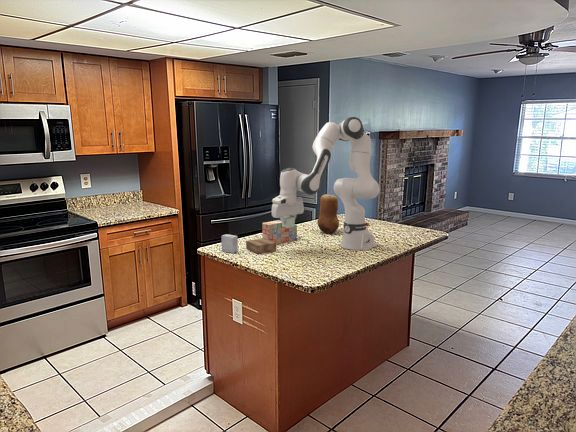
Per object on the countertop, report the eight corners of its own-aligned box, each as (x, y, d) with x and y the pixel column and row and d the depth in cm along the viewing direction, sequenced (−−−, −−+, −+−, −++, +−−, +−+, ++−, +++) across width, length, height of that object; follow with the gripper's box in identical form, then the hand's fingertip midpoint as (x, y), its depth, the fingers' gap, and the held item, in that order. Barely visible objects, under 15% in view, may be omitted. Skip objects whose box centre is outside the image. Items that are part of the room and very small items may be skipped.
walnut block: (264, 246, 239) (265, 238, 238) (276, 251, 229) (276, 242, 228) (246, 249, 232) (246, 240, 231) (256, 254, 223) (256, 245, 222)
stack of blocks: (290, 237, 259) (290, 218, 256) (297, 239, 254) (297, 219, 251) (262, 243, 245) (262, 222, 243) (268, 245, 241) (268, 224, 238)
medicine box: (238, 251, 227) (238, 235, 226) (233, 253, 224) (232, 237, 222) (226, 249, 231) (226, 233, 230) (221, 251, 228) (221, 235, 226)
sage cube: (288, 224, 233) (288, 216, 232) (294, 226, 229) (294, 217, 228) (281, 226, 230) (281, 217, 229) (287, 228, 226) (287, 218, 225)
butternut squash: (339, 231, 277) (341, 193, 272) (337, 236, 264) (338, 196, 259) (319, 229, 280) (320, 192, 275) (315, 234, 267) (316, 195, 262)
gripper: (298, 195, 235) (298, 219, 238) (269, 199, 222) (269, 225, 225) (306, 197, 230) (306, 221, 233) (277, 201, 217) (277, 227, 220)
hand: (288, 223), depth 229 cm, fingers closed on sage cube, 5 cm apart
